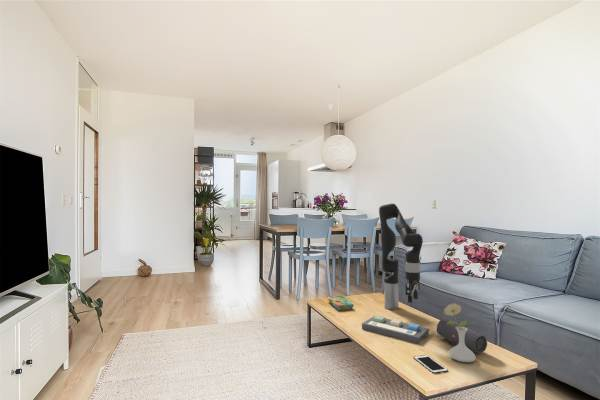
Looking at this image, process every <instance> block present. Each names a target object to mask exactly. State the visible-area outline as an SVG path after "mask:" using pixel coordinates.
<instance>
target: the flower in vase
mask: <svg viewBox="0 0 600 400" xmlns="http://www.w3.org/2000/svg"><path fill="white" fill-rule="evenodd" d="M443 312H444V315H446V316H449V317H454V320H448V321H449V322H448V323H447V324H450V325H454V324H455V323H456V324H459V325H458V327H456V329H457V331H458V334H459V344H458V345H457V346H456V345H454V346H453V347H451V348H450V349H449V350H448V352H447V353H448V356H449V357H451V358H452V359H453V360H456V361H458V362H461V363H472V362H475V360H476V359H477V356H476V355H475V353H474V351H472V350H470V349H469V348H467V347H466V345H465V341H464V339H465V333H466V331H467V330H468V329H469V328H468V327H466V324H467V321H468V320H467V319H466V320H462V321H460V322H459V323H458V321H457V318H456V317H457V316H456V315H459V313H460V312H462V306H461V305H460V304H458V303H450V304H448V305H447V306H445V308H444V310H443ZM460 326H464V327H460ZM465 327H466V328H465ZM467 328H468V329H467Z"/></svg>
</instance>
